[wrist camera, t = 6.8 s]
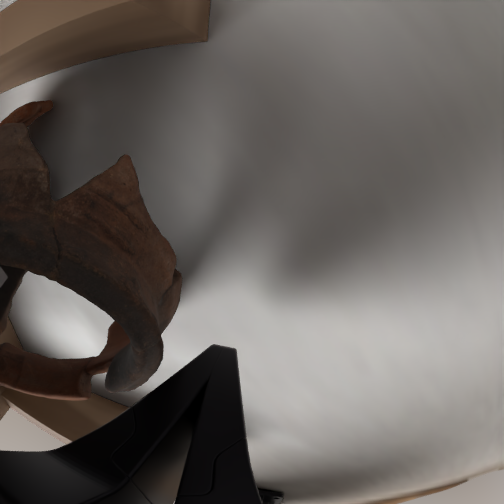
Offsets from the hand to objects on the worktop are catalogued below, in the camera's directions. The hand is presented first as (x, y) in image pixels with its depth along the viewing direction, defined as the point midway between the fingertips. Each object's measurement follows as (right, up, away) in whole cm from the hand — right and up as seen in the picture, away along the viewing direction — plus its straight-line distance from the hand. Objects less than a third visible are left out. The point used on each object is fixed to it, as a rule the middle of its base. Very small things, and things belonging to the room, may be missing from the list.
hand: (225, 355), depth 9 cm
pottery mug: (-6, +4, +2) cm, 8 cm away
